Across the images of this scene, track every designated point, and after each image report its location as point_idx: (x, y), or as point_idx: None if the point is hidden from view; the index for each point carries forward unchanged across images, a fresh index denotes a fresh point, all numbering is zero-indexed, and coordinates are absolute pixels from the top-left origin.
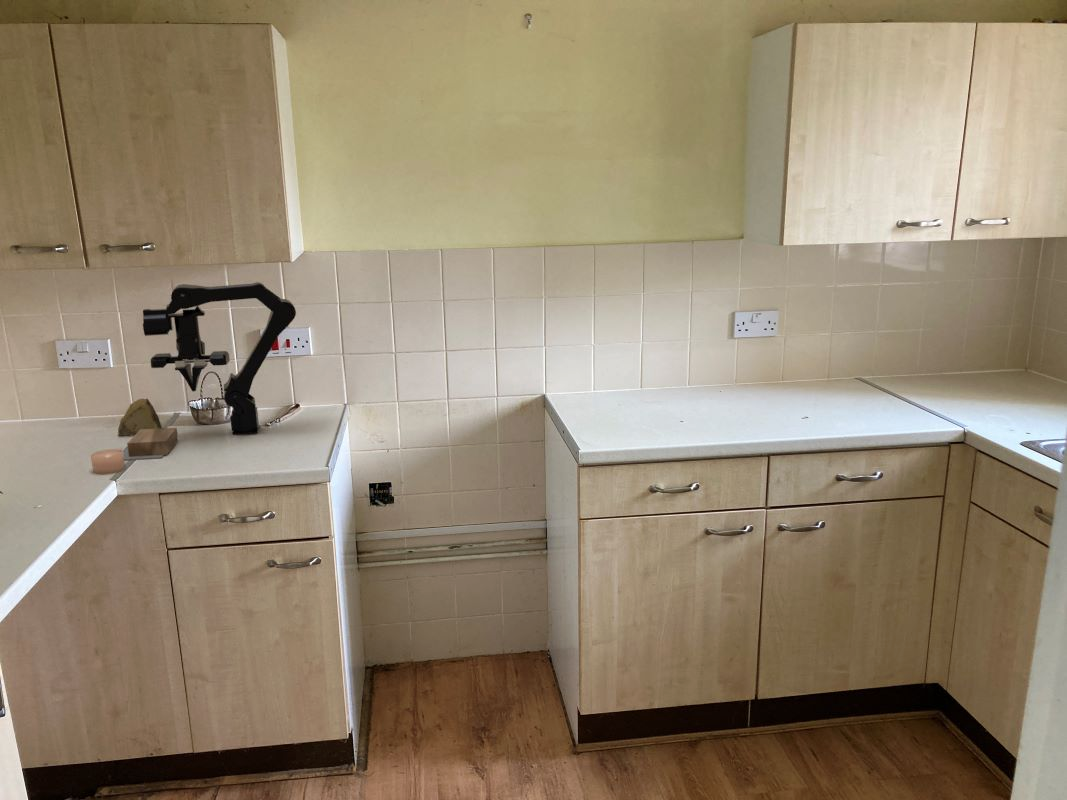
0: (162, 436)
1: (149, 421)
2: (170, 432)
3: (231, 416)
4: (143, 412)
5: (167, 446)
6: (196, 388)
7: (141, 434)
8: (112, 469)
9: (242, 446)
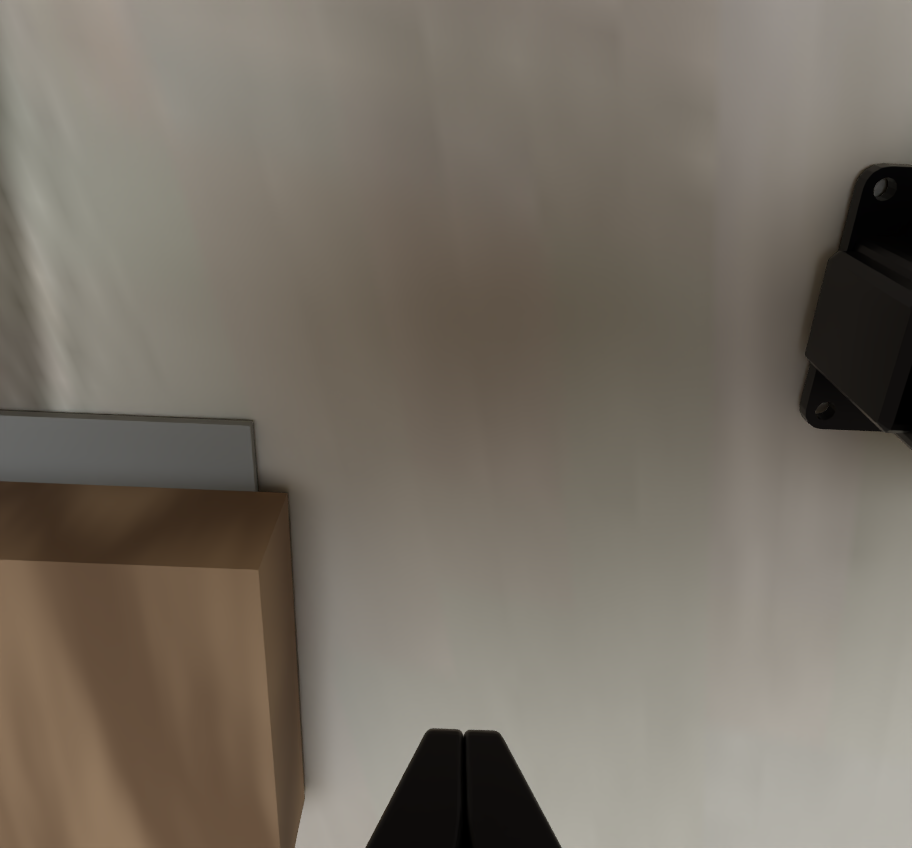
0: (215, 798)
1: None
2: (250, 709)
3: (896, 431)
4: None
5: (293, 817)
6: (514, 771)
7: None
8: None
9: (845, 721)
